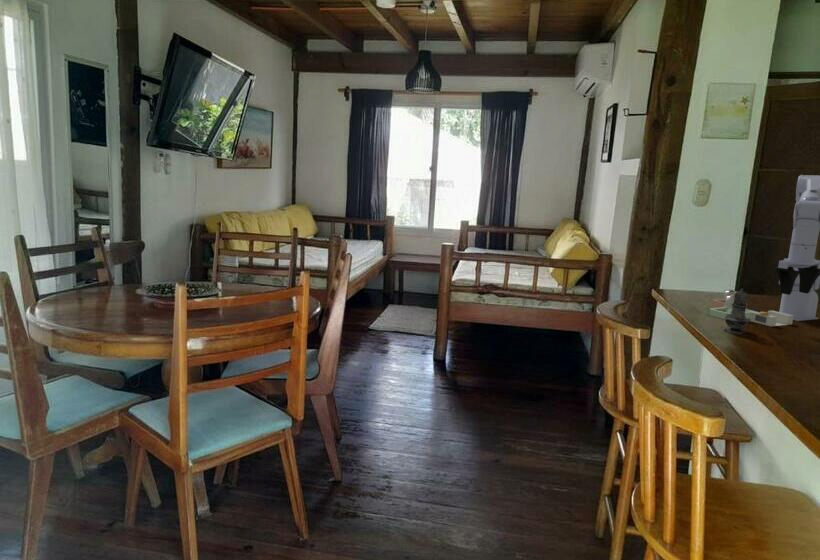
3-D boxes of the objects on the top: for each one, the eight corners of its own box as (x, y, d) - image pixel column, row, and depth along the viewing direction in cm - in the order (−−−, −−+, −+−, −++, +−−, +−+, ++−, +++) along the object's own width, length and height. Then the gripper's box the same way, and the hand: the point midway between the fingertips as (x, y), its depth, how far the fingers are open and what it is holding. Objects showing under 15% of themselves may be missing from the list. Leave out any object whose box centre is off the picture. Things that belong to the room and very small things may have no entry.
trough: (734, 313, 163) (735, 306, 162) (756, 319, 156) (757, 311, 156) (706, 315, 158) (707, 308, 158) (727, 321, 152) (728, 314, 152)
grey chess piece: (752, 335, 138) (759, 291, 136) (727, 333, 139) (734, 289, 137) (742, 329, 144) (749, 286, 141) (719, 328, 145) (725, 285, 142)
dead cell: (727, 308, 168) (729, 289, 167) (737, 310, 165) (740, 291, 164) (718, 308, 167) (721, 289, 166) (729, 311, 163) (732, 291, 162)
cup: (725, 308, 170) (727, 299, 170) (745, 313, 164) (747, 303, 163) (710, 309, 168) (712, 300, 167) (730, 314, 161) (731, 304, 161)
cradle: (771, 320, 156) (773, 308, 155) (791, 325, 150) (793, 313, 150) (749, 322, 152) (751, 310, 152) (769, 327, 147) (771, 315, 146)
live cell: (739, 317, 156) (743, 297, 154) (730, 318, 154) (734, 297, 153) (728, 314, 159) (732, 294, 158) (719, 314, 158) (723, 294, 157)
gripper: (805, 242, 150) (797, 289, 152) (770, 243, 144) (762, 291, 147) (832, 245, 143) (823, 294, 146) (797, 246, 138) (788, 296, 140)
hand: (794, 293), depth 146 cm, fingers open, 7 cm apart
